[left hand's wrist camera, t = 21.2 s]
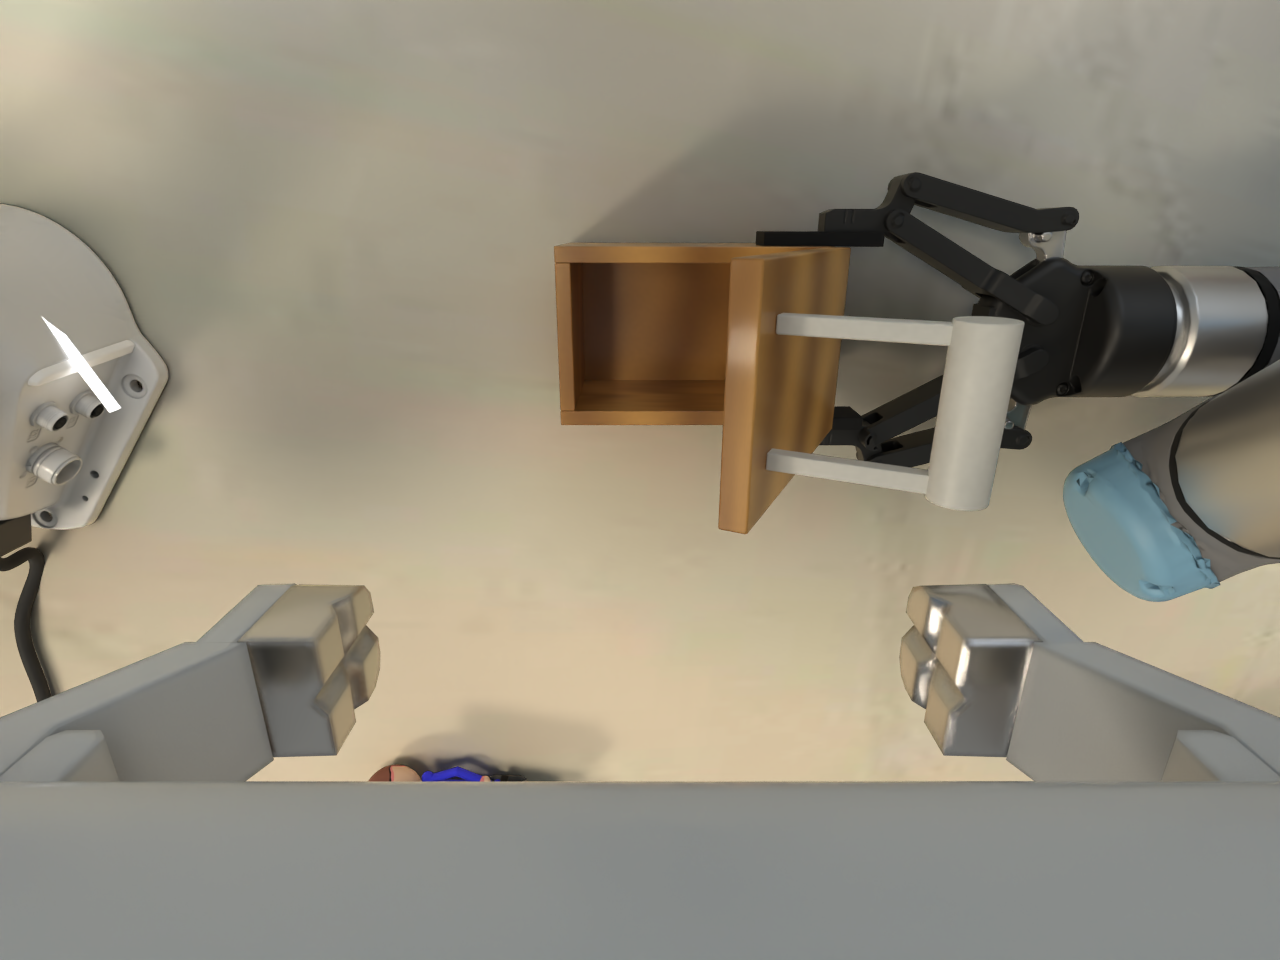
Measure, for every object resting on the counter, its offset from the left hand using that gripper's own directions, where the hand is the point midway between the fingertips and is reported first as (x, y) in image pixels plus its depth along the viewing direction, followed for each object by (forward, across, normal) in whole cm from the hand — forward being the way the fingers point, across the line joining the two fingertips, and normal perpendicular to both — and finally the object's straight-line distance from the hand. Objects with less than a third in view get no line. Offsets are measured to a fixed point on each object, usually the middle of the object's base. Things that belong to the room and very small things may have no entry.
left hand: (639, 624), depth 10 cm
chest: (+38, -3, 0) cm, 38 cm away
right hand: (+31, -7, 0) cm, 32 cm away
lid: (+21, -6, 0) cm, 22 cm away
